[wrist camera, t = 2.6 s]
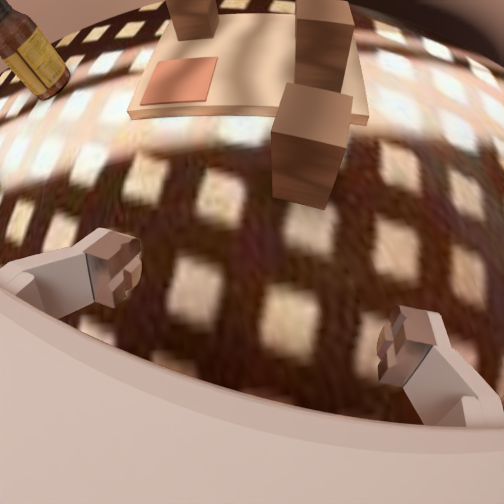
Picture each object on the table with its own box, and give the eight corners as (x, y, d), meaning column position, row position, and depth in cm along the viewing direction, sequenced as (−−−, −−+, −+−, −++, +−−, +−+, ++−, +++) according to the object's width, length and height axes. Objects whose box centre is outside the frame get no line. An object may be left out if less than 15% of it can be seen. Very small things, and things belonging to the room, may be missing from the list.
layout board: (348, 28, 32) (358, -34, 22) (365, 125, 27) (393, 44, 17) (173, 27, 34) (154, -31, 24) (131, 119, 29) (90, 50, 19)
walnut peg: (333, 166, 26) (353, 96, 17) (324, 210, 25) (346, 148, 16) (284, 154, 27) (286, 82, 18) (272, 197, 26) (270, 131, 17)
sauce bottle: (71, 64, 34) (15, -27, 15) (71, 86, 33) (4, -15, 14) (37, 86, 34) (-25, 4, 15) (35, 110, 32) (-39, 21, 13)
